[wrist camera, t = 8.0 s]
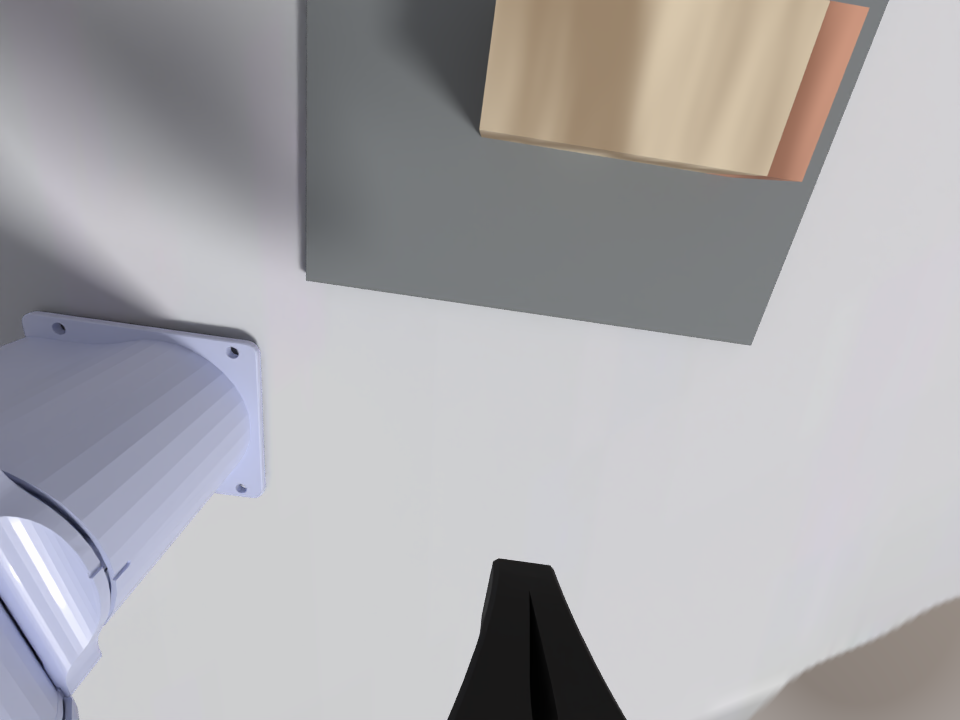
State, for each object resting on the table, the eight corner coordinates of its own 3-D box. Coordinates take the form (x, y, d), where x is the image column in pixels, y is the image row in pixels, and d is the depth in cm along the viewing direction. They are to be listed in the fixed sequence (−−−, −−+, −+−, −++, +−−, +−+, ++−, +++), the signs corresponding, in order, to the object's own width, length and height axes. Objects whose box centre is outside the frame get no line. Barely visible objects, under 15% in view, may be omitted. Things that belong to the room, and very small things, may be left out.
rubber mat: (310, 277, 19) (306, 280, 18) (313, -204, 13) (307, -217, 13) (744, 341, 20) (750, 345, 19) (914, -90, 14) (928, -99, 14)
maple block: (479, 129, 13) (801, 182, 13) (503, -59, 11) (869, 7, 11) (481, 136, 16) (732, 177, 17) (499, -3, 15) (776, 45, 15)
